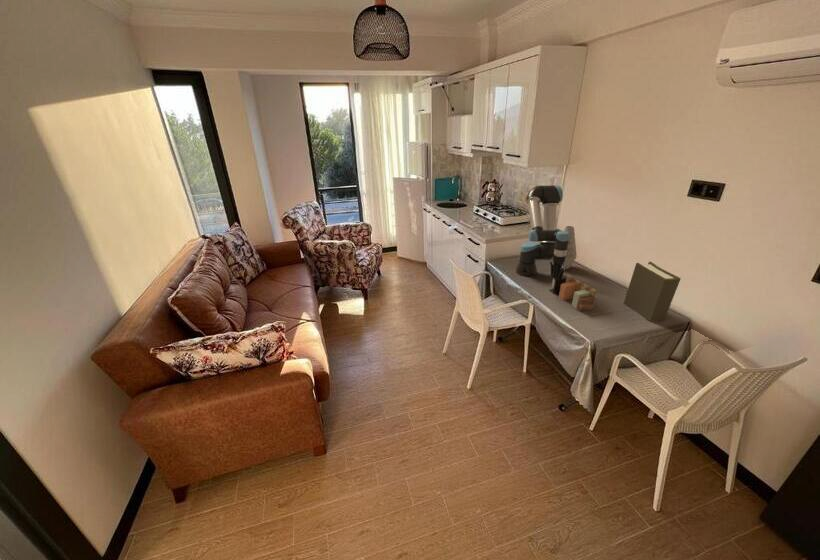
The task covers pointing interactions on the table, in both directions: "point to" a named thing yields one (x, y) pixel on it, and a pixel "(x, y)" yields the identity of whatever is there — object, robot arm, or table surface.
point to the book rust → (567, 290)
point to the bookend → (558, 285)
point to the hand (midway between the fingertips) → (554, 287)
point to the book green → (579, 296)
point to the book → (651, 291)
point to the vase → (570, 248)
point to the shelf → (586, 301)
